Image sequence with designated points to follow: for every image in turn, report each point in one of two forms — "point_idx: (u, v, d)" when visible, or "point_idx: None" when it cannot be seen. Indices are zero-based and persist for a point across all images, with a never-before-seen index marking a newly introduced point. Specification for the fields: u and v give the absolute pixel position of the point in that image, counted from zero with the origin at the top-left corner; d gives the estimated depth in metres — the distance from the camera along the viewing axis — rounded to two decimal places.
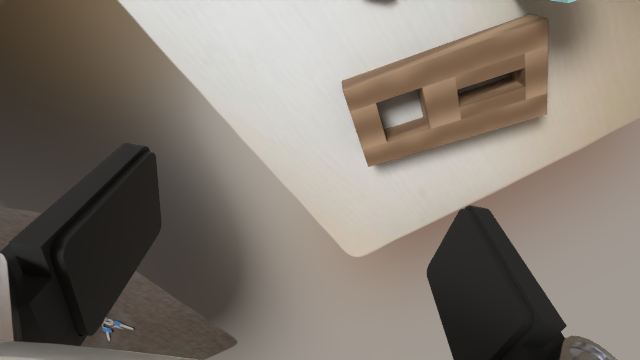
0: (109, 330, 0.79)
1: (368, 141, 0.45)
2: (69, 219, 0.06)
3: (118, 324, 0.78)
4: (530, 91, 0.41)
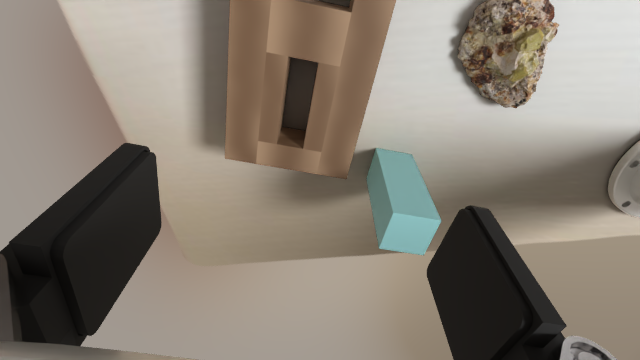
0: None
1: None
2: (69, 219, 0.06)
3: None
4: (267, 147, 0.31)
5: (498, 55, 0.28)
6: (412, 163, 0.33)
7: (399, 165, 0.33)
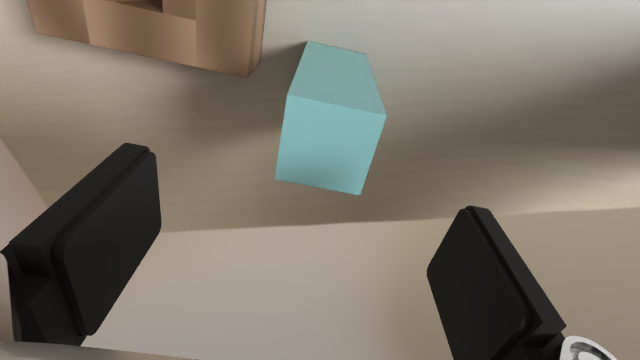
0: None
1: None
2: (69, 219, 0.06)
3: None
4: (101, 10, 0.18)
5: None
6: (362, 59, 0.20)
7: (337, 57, 0.19)
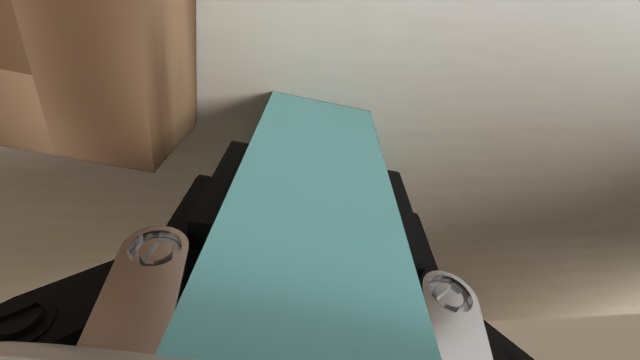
0: None
1: None
2: (221, 203, 0.07)
3: None
4: None
5: None
6: (365, 130, 0.12)
7: (321, 133, 0.11)
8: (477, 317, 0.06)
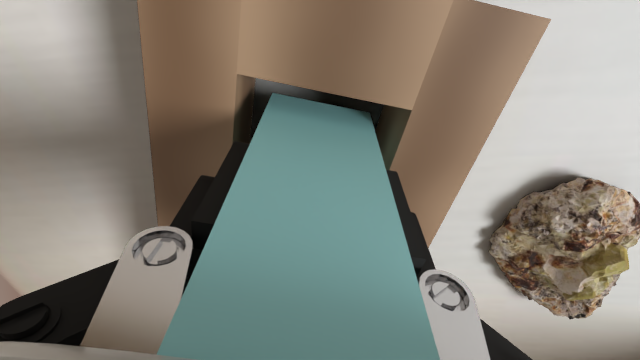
0: None
1: None
2: None
3: None
4: None
5: (552, 266, 0.18)
6: (364, 132, 0.12)
7: (321, 134, 0.11)
8: (474, 316, 0.06)
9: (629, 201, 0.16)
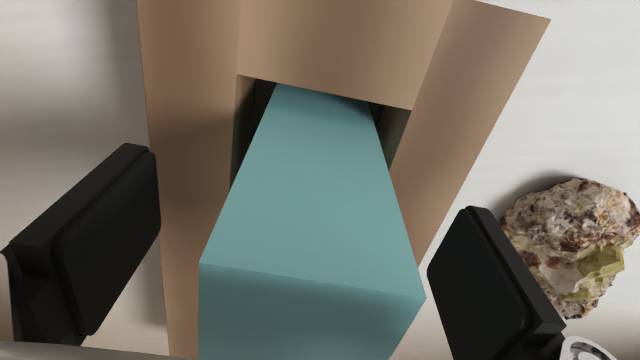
0: None
1: None
2: (69, 219, 0.06)
3: None
4: None
5: (548, 266, 0.18)
6: (361, 110, 0.13)
7: (323, 110, 0.12)
8: None
9: (625, 202, 0.16)
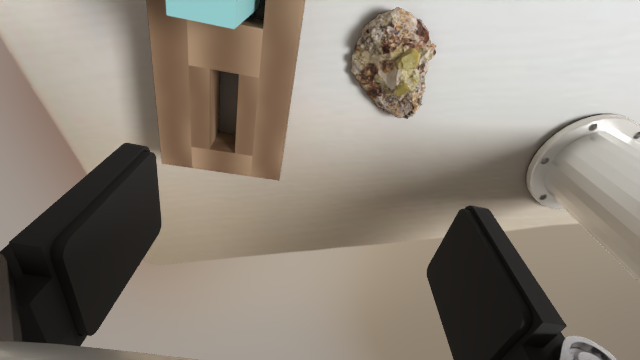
0: None
1: None
2: (69, 219, 0.06)
3: None
4: (201, 152, 0.33)
5: (383, 71, 0.31)
6: None
7: None
8: None
9: (413, 19, 0.28)
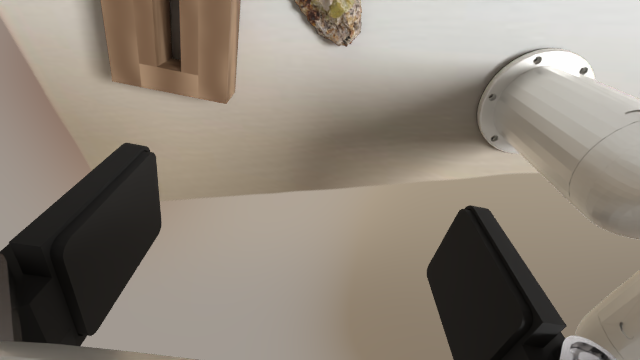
0: None
1: None
2: (68, 219, 0.06)
3: None
4: (148, 70, 0.34)
5: None
6: None
7: None
8: None
9: None
